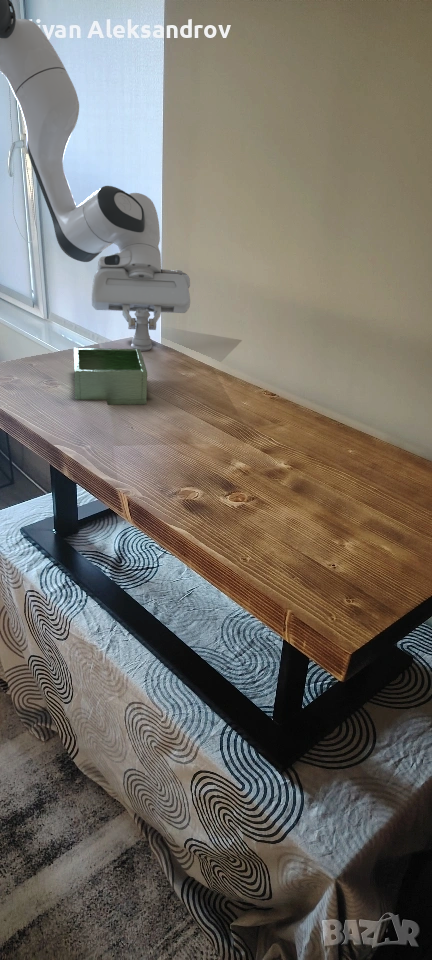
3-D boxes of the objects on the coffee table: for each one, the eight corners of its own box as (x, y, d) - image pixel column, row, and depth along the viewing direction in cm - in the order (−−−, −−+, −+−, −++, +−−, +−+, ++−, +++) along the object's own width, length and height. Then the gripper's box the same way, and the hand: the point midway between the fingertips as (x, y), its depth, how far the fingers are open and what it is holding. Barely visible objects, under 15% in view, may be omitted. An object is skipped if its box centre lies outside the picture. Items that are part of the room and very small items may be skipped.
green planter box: (75, 404, 102) (74, 371, 99) (74, 379, 112) (73, 347, 109) (146, 404, 105) (147, 371, 102) (139, 379, 114) (140, 348, 112)
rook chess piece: (127, 349, 129) (127, 310, 125) (136, 343, 133) (136, 305, 129) (147, 352, 128) (148, 313, 124) (155, 347, 132) (156, 309, 128)
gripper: (187, 279, 136) (190, 337, 132) (91, 275, 132) (92, 334, 129) (191, 262, 130) (194, 322, 126) (91, 257, 126) (91, 318, 123)
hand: (142, 328), depth 128 cm, fingers closed on rook chess piece, 3 cm apart
